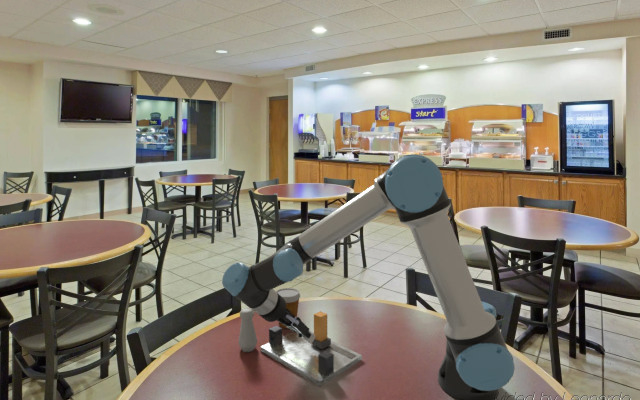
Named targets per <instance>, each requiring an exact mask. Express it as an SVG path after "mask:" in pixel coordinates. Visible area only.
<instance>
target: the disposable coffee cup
mask: <svg viewBox="0 0 640 400" xmlns="http://www.w3.org/2000/svg"><path fill="white" fill-rule="evenodd" d="M275 291H276V292H277V293H278V294H279V295H280V296H282V297H283V298H284V299H285V301H286V308H287V309H288V310H290V311H291V313H292V314H293V315H294V316H295V317H298V312H299V311H298V310H299V302H300V298H301V294H300V291H299V290H298V289H296V288H291V287H287V288H286V287H284V288H280V289H278V290H275ZM277 322H278V327H280V328H282V329H288V328H287V327H286V326H285V325H283V324H282V323H280V322H279V321H277Z"/></svg>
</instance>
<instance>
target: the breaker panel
mask: <svg viewBox="0 0 640 400" xmlns="http://www.w3.org/2000/svg"><path fill="white" fill-rule="evenodd" d="M309 331H310V332H311V333H313V334H314V331H311V330H309ZM260 351H261V352H262V353H263V354H266V355H267V356H268V357H270V358H272V359H273V360H275V361H277V362H278V363H280V364H282V365H283V366H285V367H286V368H289V369H290V370H292V371H293V372H295V373H297V374H298V375H300V376H302V378H303V377H304V378H305V379H306V380H308V381H310V382H311V383H313V384H315V385H317V386H318V387H322V386H323V385H324V384H326V383H328V382H330V381H332V380H333V379H334V378H336V377H338V376H339V375H340V374H342V373H344V372H345V371H346V370H348V369H350V368H352V367H353V366H355V365H356V364H358V363H360V362H361V361H362V359H363V355H362V354H359V353H358V352H355V351H353V350H352V349H349V348H348V347H345V346H343V345H341V344H339V343H337V342H335V341H334V340H331V345H329V346H327V347H325V348H323V349H320V348H318V347H317V346H315V345H313V344H310V343H308V342H307V341H306V340H304V339H303V338H302V337H301V338H300V337H298V334H297V332H294V331H293V330H292V331H291V332H290V333H287V334H285V335H283V327H280V326H279V325H274V326H272V327H269V328H268V342H267V343H265V344H263V345H261V346H260Z"/></svg>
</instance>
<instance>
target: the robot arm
mask: <svg viewBox="0 0 640 400" xmlns="http://www.w3.org/2000/svg"><path fill="white" fill-rule="evenodd" d="M451 206H452V203H451V201H450V199H449V196H448V193H447V190H446V188H445V185H444V180H443V174H442V172H441V170H440V168H439V167H438V165H437V164H436V163H435V162H434V161H432V159H430V158H428V157H426V156H425V155H421V154H414V153H413V154H406V155H403V156H401V157H398V158H397V159H395V161H393V163H391V165H390V166H389V167H388V169H386V170H385V171H384V172H382V173H381V174H380V175H379V176H377V177H376V178H375V179H374V182H373V185H371V186H370V187H368V188H367V189H365V190H363V191H362V192H360V193H359V194H357V195H356V196H354V197H353V198H352V199H350V200H349V201H348V202H346V203H345V204H343V205H341V206H340V207H338V208H337V209H336V210H334V211H333V212H331V213H329V214H328V215H327V216H325V217H324V218H322V219H321V220H319V221H318V222H316V223H314V224H313V225H312V226H311V227H309V228H308V229H306V230H305V231H303V232H302V233H300V234H299V235H297V236H295V237H294V238H292V239H290V240H289V241H286V242H285V243H284V244H283V246H281V248H279V249H278V250H277V251H275V252H274V253H273V254H271V255H270V256H269V257H267V258H264V259H263V260H261V261H259V262H257V263H255V264H253V265H251V266H247V264H245V263H242V262H234V263H232V264H231V265H230V266H229V267H227V269H226V270H225V272H224V274H223V276H222V280H221V285H222V287H223V288H224V289H225V290H227V292H229V293H230V295H231V296H232V297H234V298H235V299H237V300H239V301H240V302H241V303H243V304H244V305H245V306H247V307H248V308H250V309H252V310H251V312H252V313H254V314H255V313H256V314H257V315H259V317H261V318H262V319H263V320H264V321H266V322H267V323H268V322H269V323H273V322H276V321H277V322H278V321H279V322H280V323H282V324H283V325H285V326H286V327H287V328H286V329H288V330H289V331H290V330H292V332H293V331H294V332H297V334H298V337H300V338H301V337H302V338H303V339H304V340H306V341H307V342H308V343H310V344H312V342H313V341H314V339H315V337H316V336H315V335H314V334H313V333H311V332H310V331H311V330H310V328H309V327H308V326H307V325H306V324H305V323H304V322H303V321H302V320H301V318H300V317H299V316H297V317H295V316H294V315H293V314H292V313H291V311H290V310H288V309H287V308H286V301H285V299H284V298H283V297H282V296H280V295H279V294H278V293H277V292H276V291H277V290H275V288H277V287H279V286H282V285H284V284H286V283H288V282H292V281H294V280H295V279H297V278H298V277H300V276H301V275H303V273H304V265H305V264H307V263H309V262H310V261H312V259H314V258H315V257H317V256H318V255H320V254H321V253H323V252H324V251H326V250H328V249H330V248H331V247H333V246H335V245H336V244H337V243H339V242H341V241H342V240H343V239H345V238H346V237H348V236H350V235H352V233H355V232H356V231H357V230H359V229H361V228H362V227H364V226H366V225H367V224H368V223H370V222H371V221H373V220H375V219H376V218H378V217H379V216H381V215H382V214H384V213H385V212H387V211H388V210H390V209H391V210H395V212H396V214H397V217H398V218H399V222H400V223H401V224H403V225H405V226H407V227H408V228H410V231H411V234H412V236H413V238H414V241H415V244H416V246H417V248H418V252H419V254H420V257H421V259H422V262H423V263H424V266H425V269H426V272H427V274H428V277H429V279H430V282H431V284H432V286H433V287H432V288H433V290H434V292H435V294H436V297H437V299H438V302H439V304H440V307H441V309H442V312H443V315H444V317H445V320H446V323H445V325H444V327H443V333H444V335H445V338H446V342H445V344H446V345H445V355H444V358H443V360H442V362H441V365H440V367H439V369H438V371H437V372H438V374H437V381H438V385H439V386H440V388H441V389H442V390H443V391H444V392H445V393H447V394H448V395H450V396H451V397H453V398H455V399H458V400H496V398H498V396H499V392H500V391H499V390H500V389H501V388H503V387H505V386H506V385H507V384H508V383H509V382H510V381H511V380H512V378H513V376H514V375H515V362H514V356H513V355H512V352H510V350H509V349H508V346H507V344H506V342H505V340H504V336H503V335H502V332H501V329H500V326H499V324H498V321H497V319H496V318H497V316H498V315H497V310H496V308H495V307H494V305H492V304H490V303H488V302H485V301H482V300H481V297H480V295H479V293H478V289H477V288H476V285H475V282H474V279H473V278H472V274H471V272H470V269H469V266H468V264H467V262H466V259H465V256H464V254H463V251H462V248H461V246H460V244H459V241H458V239H457V236H456V234H455V231H454V228H453V225H452V224H451V220H450V219H449V216H448V211H449V210H450V208H451ZM279 322H278V323H279Z"/></svg>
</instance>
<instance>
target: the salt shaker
mask: <svg viewBox="0 0 640 400" xmlns="http://www.w3.org/2000/svg"><path fill="white" fill-rule="evenodd" d="M251 310H252V309H251V308H249V307H248V308H247V307H246V308H243V309H241V310H240V311H239V318H240V319H241V320H240V331H239V335H238V336H239V337H238V346H239V347H240V350H241V351H242V352H244V353H250V352H253V351H254V349H255V347H256V345H257V343H258V339H257V334H256V330H255V329H256V328H255V325H254V320H253V318H254V314H255V312H254V313H252V312H251Z"/></svg>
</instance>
